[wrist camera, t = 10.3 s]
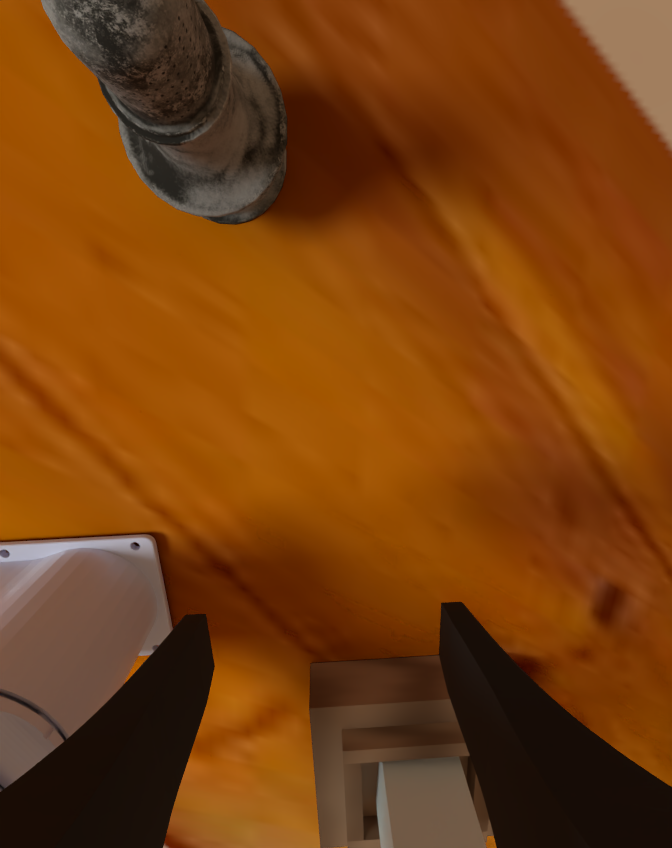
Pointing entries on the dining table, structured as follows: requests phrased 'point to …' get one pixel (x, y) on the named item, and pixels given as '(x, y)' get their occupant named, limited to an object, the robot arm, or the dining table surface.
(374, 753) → the taupe stepped square slab
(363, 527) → the dining table surface
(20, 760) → the robot arm
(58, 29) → the salt shaker
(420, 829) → the block
